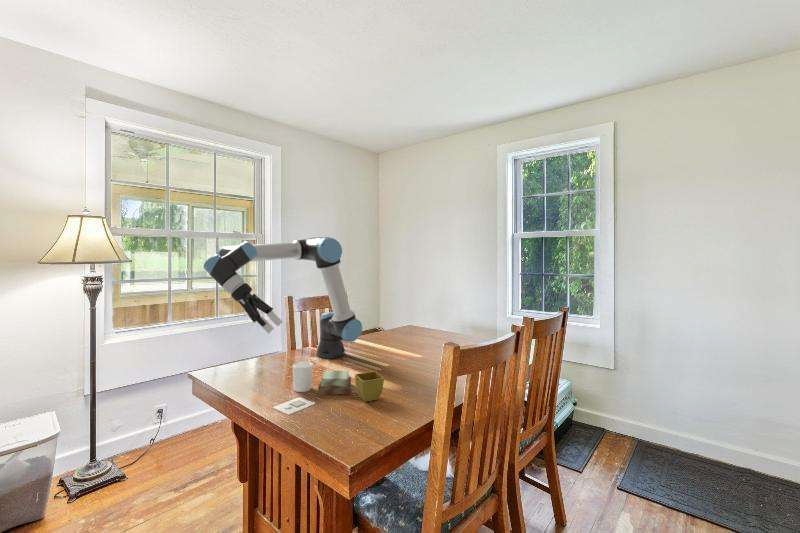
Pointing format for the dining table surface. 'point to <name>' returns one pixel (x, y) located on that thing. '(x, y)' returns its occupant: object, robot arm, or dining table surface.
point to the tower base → (334, 389)
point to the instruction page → (293, 405)
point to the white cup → (302, 376)
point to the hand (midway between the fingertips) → (276, 327)
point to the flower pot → (369, 385)
